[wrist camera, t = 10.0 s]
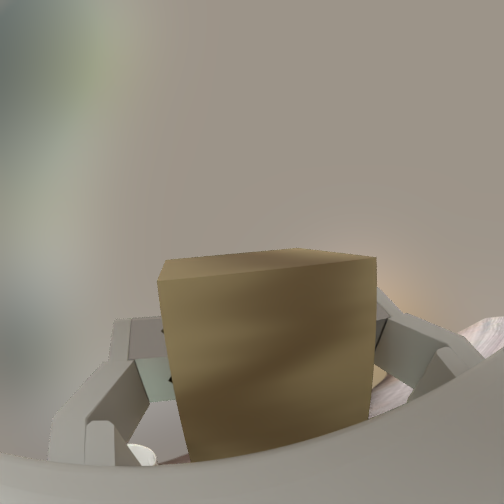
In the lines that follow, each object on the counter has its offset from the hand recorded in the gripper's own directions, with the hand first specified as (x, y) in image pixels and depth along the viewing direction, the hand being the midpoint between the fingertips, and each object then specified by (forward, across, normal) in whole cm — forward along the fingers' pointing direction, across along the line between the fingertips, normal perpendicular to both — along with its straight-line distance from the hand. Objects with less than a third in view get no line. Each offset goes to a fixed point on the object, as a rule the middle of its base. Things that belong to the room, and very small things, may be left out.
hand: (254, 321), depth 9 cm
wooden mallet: (+2, 0, +5) cm, 5 cm away
